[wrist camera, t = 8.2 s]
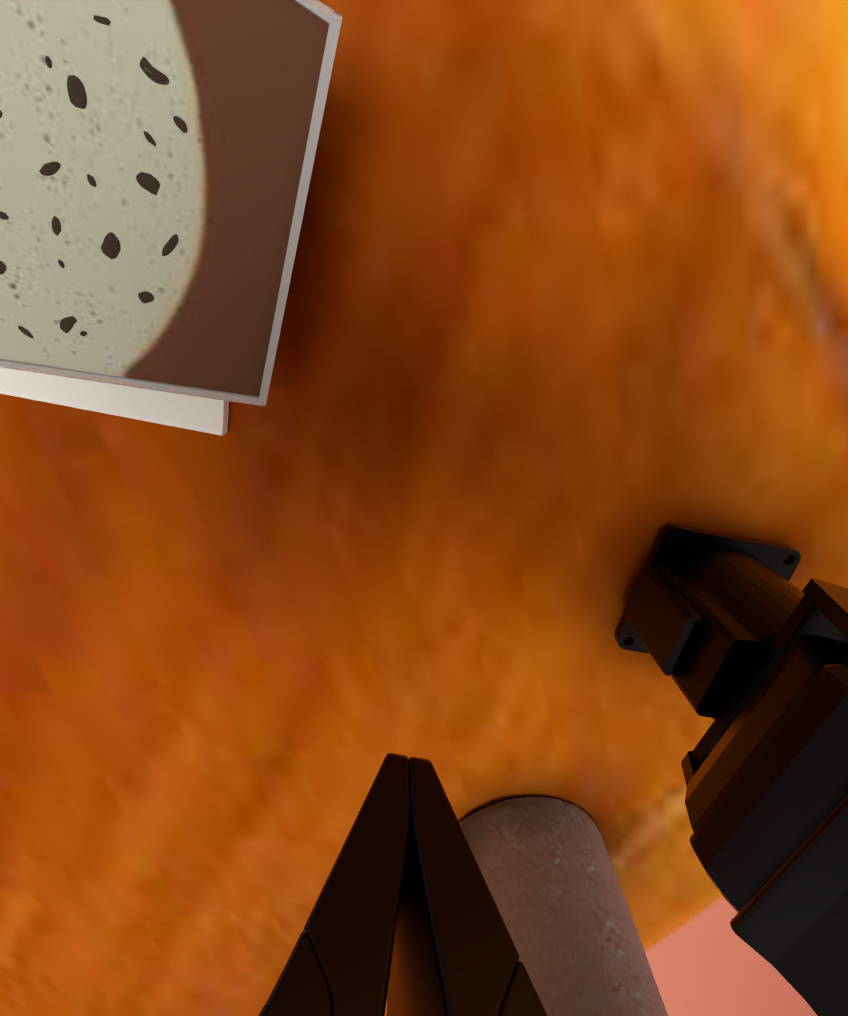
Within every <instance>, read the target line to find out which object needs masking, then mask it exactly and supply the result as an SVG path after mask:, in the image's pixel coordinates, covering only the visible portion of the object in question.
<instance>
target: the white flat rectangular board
mask: <svg viewBox="0 0 848 1016" xmlns="http://www.w3.org/2000/svg"><path fill="white" fill-rule="evenodd" d="M0 393H1V394H6V395H11V396H16V397H22V398H27V399H32V400H37V401H43V402H48V403H53V404H58V405H64V406H69V407H74V408H79V409H85V410H90V411H95V412H100V413H106V414H111V415H116V416H121V417H127V418H132V419H137V420H142V421H148V422H153V423H158V424H163V425H169V426H174V427H179V428H184V429H190V430H195V431H200V432H205V433H211V434H216V435H221V436H222V435H224V434H225V433H227V432H228V414H229V401H224V400H217V399H210V398H203V397H197V396H190V395H183V394H177V393H170V392H163V391H156V390H150V389H143V388H136V387H130V386H123V385H116V384H109V383H103V382H96V381H89V380H82V379H76V378H69V377H62V376H56V375H49V374H42V373H35V372H29V371H22V370H15V369H9V368H2V367H0Z"/></svg>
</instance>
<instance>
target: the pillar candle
mask: <svg viewBox="0 0 848 1016" xmlns="http://www.w3.org/2000/svg"><path fill="white" fill-rule="evenodd" d="M459 824H460V826H461V828H462V831H463V833H464V835H465V837H466V839H467V842H468V844H469V846H470V848H471V850H472V853H473V855H474V857H475V859H476V861H477V864H478V866H479V868H480V870H481V872H482V875H483V877H484V879H485V881H486V883H487V886H488V888H489V890H490V892H491V894H492V896H493V899H494V901H495V903H496V905H497V907H498V910H499V912H500V914H501V916H502V918H503V921H504V923H505V925H506V927H507V929H508V932H509V934H510V936H511V938H512V940H513V943H514V945H515V947H516V949H517V951H518V954H519V961H522V962H523V964H524V966H525V968H526V971H527V973H528V975H529V977H530V980H531V982H532V984H533V986H534V988H535V991H536V993H537V995H538V997H539V999H540V1001H541V1003H542V1005H543V1007H544V1009H545V1011H546V1013H547V1015H548V1016H668V1014H667V1012H666V1009H665V1006H664V1003H663V1001H662V998H661V995H660V993H659V990H658V987H657V984H656V982H655V979H654V977H653V974H652V971H651V968H650V966H649V963H648V960H647V957H646V954H645V951H644V949H643V946H642V943H641V940H640V938H639V935H638V932H637V929H636V927H635V924H634V921H633V918H632V916H631V913H630V910H629V907H628V905H627V902H626V900H625V897H624V895H623V892H622V890H621V887H620V884H619V881H618V878H617V876H616V873H615V870H614V868H613V865H612V862H611V860H610V857H609V855H608V852H607V849H606V846H605V844H604V841H603V838H602V836H601V834H600V831H599V829H598V828H597V826H596V825H595V823H594V822H593V820H592V819H591V818H590V817H589V815H588V814H587V813H586V812H584V811H583V810H581V809H580V808H578V807H576V806H575V805H573V804H571V803H568V802H565V801H561V800H558V799H554V798H550V797H525V798H522V797H521V798H513V799H507V800H504V801H502V802H498V803H495V804H493V805H491V806H489V807H486V808H484V809H482V810H480V811H478V812H476V813H474V814H472V815H470V816H468V817H467V818H465V819H464V820H462V821H461V822H460V823H459Z"/></svg>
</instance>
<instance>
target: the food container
mask: <svg viewBox="0 0 848 1016" xmlns="http://www.w3.org/2000/svg"><path fill="white" fill-rule="evenodd" d="M342 17H343V16H341V15H340V14H338V13H337V12H335V11H334V10H332V9H331V8H329V7H328V6H327V5H325V4H324V3H322V2H321V1H319V0H0V367H2V368H9V369H15V370H22V371H29V372H35V373H42V374H49V375H56V376H62V377H69V378H76V379H82V380H89V381H96V382H103V383H109V384H116V385H123V386H130V387H136V388H143V389H150V390H156V391H163V392H170V393H177V394H183V395H190V396H197V397H203V398H210V399H217V400H224V401H230V402H237V403H244V404H250V405H257V406H264V407H266V402H267V397H268V392H269V387H270V381H271V376H272V371H273V366H274V361H275V356H276V351H277V346H278V341H279V336H280V331H281V326H282V321H283V316H284V311H285V306H286V300H287V295H288V290H289V285H290V280H291V275H292V270H293V265H294V260H295V255H296V250H297V245H298V240H299V235H300V230H301V225H302V220H303V214H304V209H305V204H306V199H307V194H308V189H309V184H310V179H311V174H312V169H313V164H314V159H315V154H316V149H317V144H318V139H319V133H320V128H321V123H322V118H323V113H324V108H325V103H326V98H327V93H328V88H329V83H330V78H331V73H332V68H333V63H334V58H335V52H336V47H337V42H338V37H339V32H340V27H341V22H342Z"/></svg>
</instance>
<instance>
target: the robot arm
mask: <svg viewBox="0 0 848 1016" xmlns="http://www.w3.org/2000/svg"><path fill="white" fill-rule="evenodd" d="M674 533H676V534H675V537H674V538H673V539H671V540H668V539H669V537H670V535H672V534H674ZM788 555H789V556H788ZM786 556H788V558H787V559H786V560H784V558H785V557H786ZM800 559H801V556H800V553H799V552H798V551H796V550H795V549H793V548H791V547H789V546H785V545H780V544H774V543H769V542H764V541H758V540H753V539H748V538H743V537H737V536H732V535H727V534H722V533H716V532H711V531H706V530H701V529H695V528H690V527H685V526H679V525H667V526H665V527H664V528H662V529H661V531H660V532H659V534H658V537H657V539H656V541H655V544H654V546H653V548H652V551H651V553H650V555H649V558H648V560H647V562H646V565H645V567H644V568H643V569H642V570H641V572H640V574H639V576H638V579H637V581H636V584H635V586H634V588H633V591H632V593H631V595H630V598H629V600H628V602H627V605H626V607H625V609H624V612H623V614H624V616H623V618H622V621H621V623H620V625H619V628H618V630H617V632H616V635H615V639H616V641H617V643H618V645H619V646H620V647H621V648H622V649H625V650H631V651H638V652H644V653H650V654H651V656H652V657H653V659H654V660H655V662H656V663H657V664H658V666H659V667H660V669H661V670H662V672H663V673H664V674H665V675H666V676H671V677H672V678H673V680H674V681H675V683H676V684H677V685H678V687H679V688H680V690H681V691H682V693H683V694H684V695H685V697H686V698H687V700H688V701H689V703H690V704H691V705H692V707H693V708H694V710H695V711H696V713H697V714H698V715H700V716H705V717H712V718H713V720H714V722H713V723H712V725H711V726H710V728H709V729H708V730H707V732H706V733H705V735H704V736H703V737H702V739H701V740H700V742H699V743H698V744H697V746H696V747H695V749H694V750H693V751H689V752H688V753H687V754H686V756H685V757H684V759H683V760H682V761H681V764H682V768H683V772H684V776H685V781H686V785H687V791H686V798H685V804H686V808H687V812H688V815H689V819H690V823H691V826H692V829H693V831H694V833H693V834H692V835H691V837H690V843H691V845H692V848H693V850H694V852H695V854H696V855H697V857H698V859H699V861H700V862H701V864H702V866H703V868H704V869H705V871H706V873H707V875H708V876H709V877H710V879H711V880H712V881H713V883H714V884H715V885H716V887H717V888H718V889H719V891H720V892H721V894H722V895H723V896H724V898H725V899H726V900H727V901H728V902H729V903H730V904H731V906H732V907H733V908H734V909H735V910H736V911H737V912H738V914H737V915H736V916H735V917H734V918H733V919H732V921H731V922H730V924H731V927H732V929H733V931H734V932H735V933H736V934H737V935H738V936H739V937H740V938H741V939H742V940H744V941H745V942H746V943H747V944H748V945H749V946H751V947H752V948H753V949H754V950H755V951H756V952H758V953H759V954H760V955H761V956H762V957H764V958H765V959H766V960H767V961H768V962H770V963H771V964H772V965H773V966H774V967H775V968H776V969H777V970H778V972H780V974H781V975H782V976H783V977H784V978H785V979H786V980H787V981H788V982H789V983H790V984H791V985H792V986H793V988H794V989H795V990H796V991H797V992H798V993H799V994H800V995H801V996H802V997H803V998H804V999H805V1000H806V1001H807V1003H808V1004H809V1005H810V1006H811V1008H812V1009H813V1010H814V1012H815V1013H816V1014H817V1015H818V1016H848V589H847V588H844V587H841V586H837V585H834V584H831V583H828V582H824V581H821V580H818V579H814V578H811V580H810V581H809V583H808V584H807V586H806V587H805V588H804V590H803V591H801V590H800V589H798V588H797V587H795V586H794V585H793V584H791V583H790V582H789V580H790V578H791V576H792V574H793V573H794V571H795V569H796V567H797V565H798V564H799V562H800ZM627 637H630V638H629V639H627V640H624V639H625V638H627ZM386 999H387V1016H548V1015H547V1013H546V1011H545V1009H544V1007H543V1005H542V1003H541V1001H540V999H539V997H538V995H537V993H536V991H535V988H534V986H533V984H532V982H531V980H530V977H529V975H528V973H527V971H526V968H525V966H524V964H523V962H522V961H519V954H518V951H517V949H516V947H515V945H514V943H513V940H512V938H511V936H510V934H509V932H508V929H507V927H506V925H505V923H504V921H503V918H502V916H501V914H500V912H499V910H498V907H497V905H496V903H495V901H494V899H493V896H492V894H491V892H490V890H489V888H488V886H487V883H486V881H485V879H484V877H483V875H482V872H481V870H480V868H479V866H478V864H477V861H476V859H475V857H474V855H473V853H472V850H471V848H470V846H469V844H468V842H467V839H466V837H465V835H464V833H463V831H462V828H461V826H460V824H459V822H458V820H457V818H456V815H455V813H454V811H453V809H452V807H451V804H450V802H449V800H448V798H447V796H446V793H445V791H444V789H443V787H442V785H441V782H440V780H439V778H438V776H437V774H436V771H435V769H434V767H433V765H432V763H431V762H430V761H429V760H427V759H423V758H417V757H410V758H409V759H408V757H407V756H405V755H399V754H393V753H388V754H387V755H386V757H385V759H384V761H383V763H382V765H381V767H380V769H379V772H378V774H377V776H376V778H375V780H374V782H373V784H372V786H371V788H370V790H369V793H368V795H367V797H366V799H365V801H364V803H363V805H362V807H361V809H360V811H359V813H358V816H357V818H356V820H355V822H354V824H353V826H352V828H351V830H350V832H349V834H348V837H347V839H346V841H345V843H344V845H343V847H342V849H341V851H340V853H339V855H338V857H337V860H336V862H335V864H334V866H333V868H332V870H331V872H330V874H329V876H328V878H327V881H326V883H325V885H324V887H323V889H322V891H321V893H320V895H319V897H318V899H317V901H316V904H315V906H314V908H313V910H312V912H311V914H310V916H309V918H308V920H307V922H306V924H305V927H304V930H303V932H302V933H301V934H300V936H299V939H298V941H297V943H296V945H295V947H294V949H293V951H292V953H291V955H290V957H289V960H288V961H287V963H286V965H285V967H284V969H283V971H282V973H281V975H280V977H279V979H278V981H277V983H276V985H275V987H274V989H273V991H272V993H271V995H270V997H269V998H268V1000H267V1002H266V1004H265V1005H264V1007H263V1009H262V1011H261V1012H260V1014H259V1016H384V1014H385V1007H386Z"/></svg>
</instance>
